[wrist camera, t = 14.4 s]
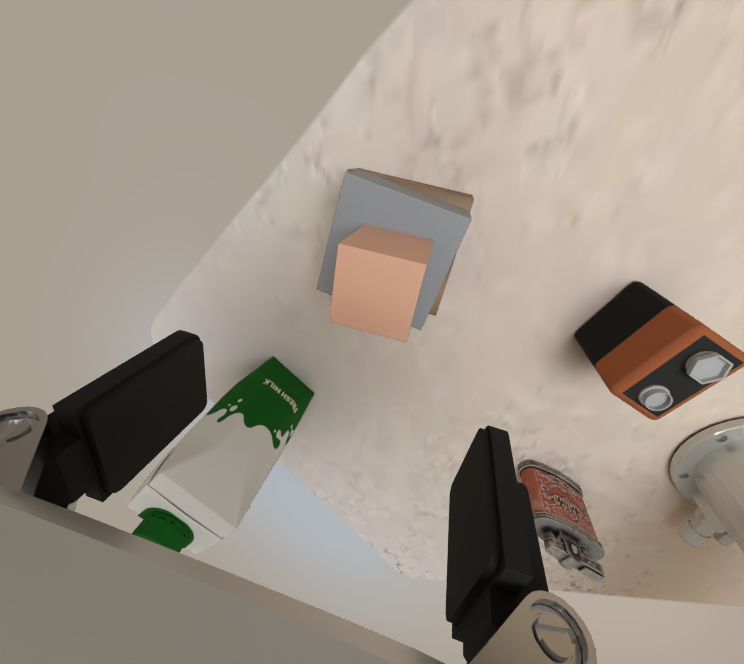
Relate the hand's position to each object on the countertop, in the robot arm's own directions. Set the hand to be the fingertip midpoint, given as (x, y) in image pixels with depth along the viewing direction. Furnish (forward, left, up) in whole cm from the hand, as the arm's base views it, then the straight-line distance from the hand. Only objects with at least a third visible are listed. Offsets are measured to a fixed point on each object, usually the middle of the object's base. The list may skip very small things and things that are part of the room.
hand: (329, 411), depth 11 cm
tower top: (+1, +1, -20) cm, 20 cm away
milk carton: (-22, +12, -24) cm, 34 cm away
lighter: (-23, -23, -24) cm, 40 cm away
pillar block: (0, +1, -16) cm, 16 cm away
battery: (-2, -20, -24) cm, 31 cm away
